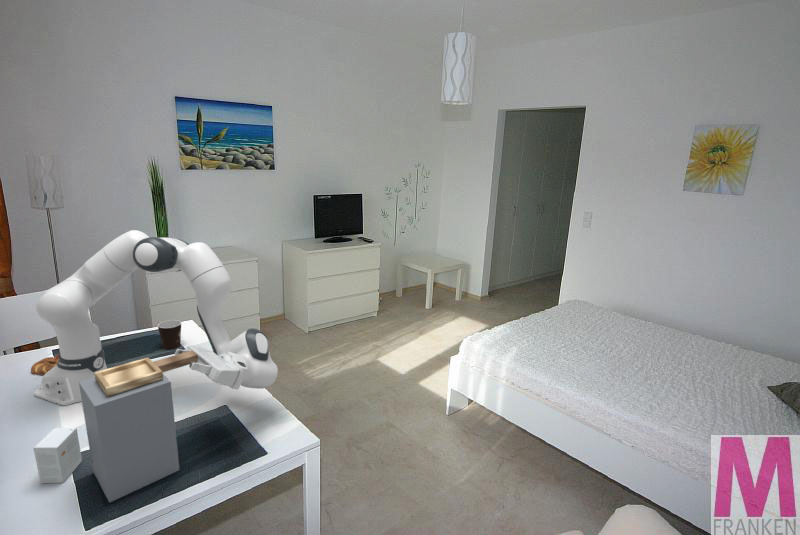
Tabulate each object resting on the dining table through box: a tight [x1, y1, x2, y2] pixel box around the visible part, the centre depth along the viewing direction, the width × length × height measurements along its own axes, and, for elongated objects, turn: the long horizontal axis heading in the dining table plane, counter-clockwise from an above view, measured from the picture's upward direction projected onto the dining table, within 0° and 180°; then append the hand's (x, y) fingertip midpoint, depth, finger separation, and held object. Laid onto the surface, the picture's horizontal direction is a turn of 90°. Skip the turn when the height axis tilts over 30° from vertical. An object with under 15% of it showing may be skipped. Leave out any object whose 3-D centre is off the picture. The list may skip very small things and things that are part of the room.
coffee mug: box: [157, 319, 182, 351], centre depth 184 cm, size 12×9×10 cm
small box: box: [33, 427, 83, 484], centre depth 113 cm, size 8×6×10 cm
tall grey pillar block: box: [79, 373, 180, 503], centre depth 112 cm, size 16×14×26 cm
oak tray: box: [94, 350, 198, 397], centre depth 113 cm, size 22×10×2 cm, turn 137°
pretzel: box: [30, 355, 58, 376], centre depth 162 cm, size 12×11×4 cm
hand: (183, 358), depth 118 cm, fingers open, 8 cm apart
